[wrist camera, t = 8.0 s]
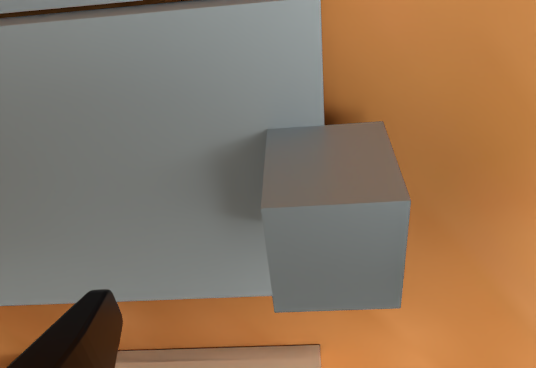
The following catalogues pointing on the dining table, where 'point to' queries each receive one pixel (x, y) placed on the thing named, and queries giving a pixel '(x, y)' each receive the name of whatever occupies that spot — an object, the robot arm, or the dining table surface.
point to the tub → (223, 357)
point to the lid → (188, 160)
